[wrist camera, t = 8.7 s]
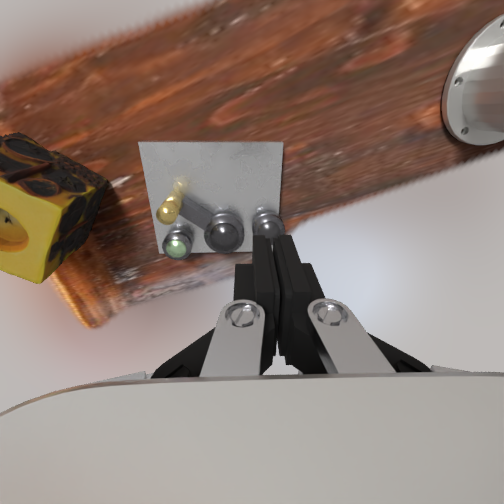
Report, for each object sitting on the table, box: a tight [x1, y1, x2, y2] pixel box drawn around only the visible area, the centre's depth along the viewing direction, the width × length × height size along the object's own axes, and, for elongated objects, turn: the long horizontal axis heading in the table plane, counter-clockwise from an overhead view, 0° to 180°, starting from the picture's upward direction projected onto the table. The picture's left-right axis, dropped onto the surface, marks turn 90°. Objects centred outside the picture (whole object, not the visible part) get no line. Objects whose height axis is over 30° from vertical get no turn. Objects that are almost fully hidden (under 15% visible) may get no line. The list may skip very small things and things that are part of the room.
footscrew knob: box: [156, 190, 245, 254], centre depth 30 cm, size 10×5×6 cm, turn 52°
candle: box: [0, 132, 108, 284], centre depth 28 cm, size 10×10×10 cm
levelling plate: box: [138, 141, 285, 260], centre depth 32 cm, size 16×14×4 cm
